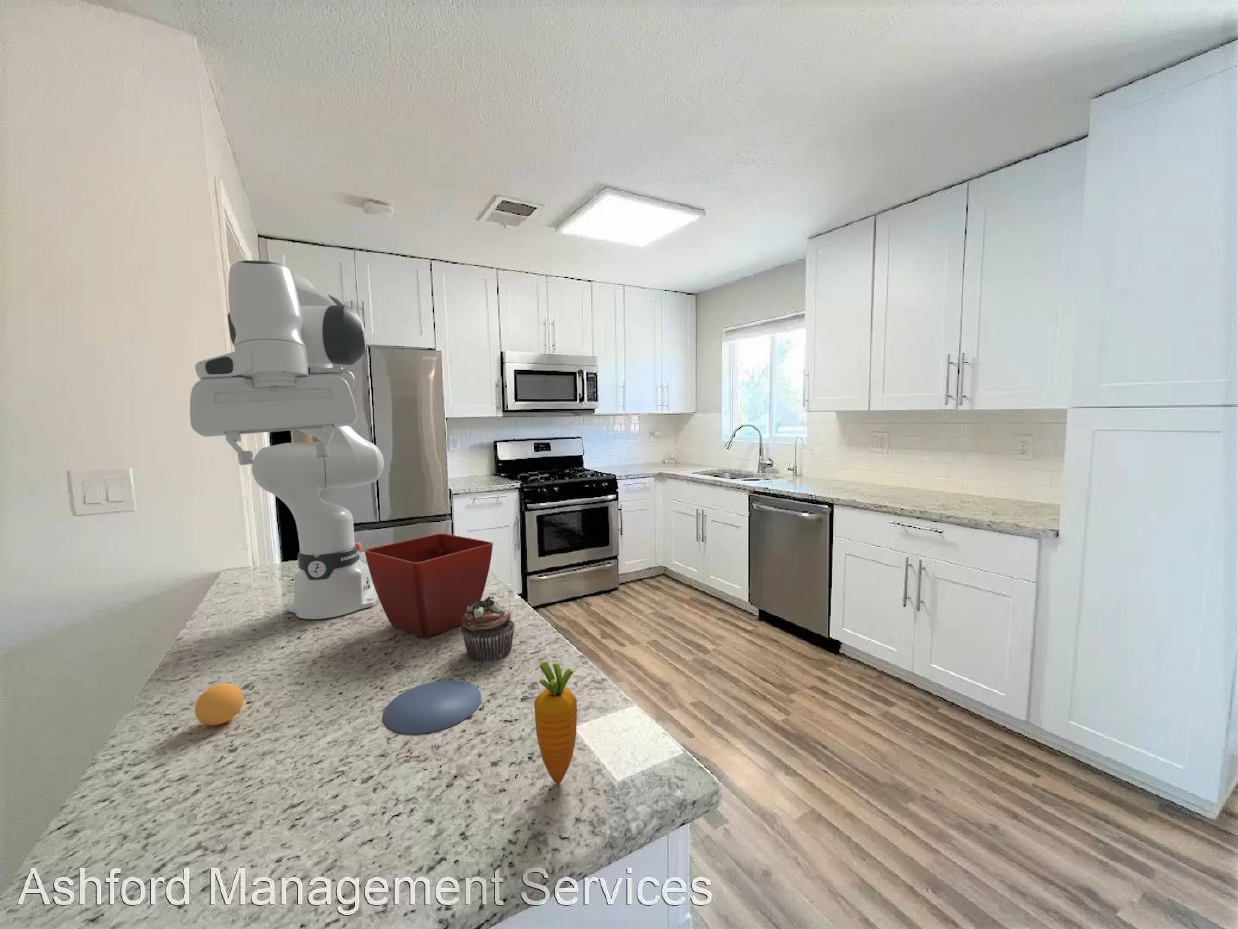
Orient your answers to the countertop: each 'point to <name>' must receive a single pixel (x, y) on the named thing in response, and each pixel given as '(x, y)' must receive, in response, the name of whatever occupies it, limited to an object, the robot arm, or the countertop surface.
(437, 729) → the disc
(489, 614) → the cupcake
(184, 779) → the countertop surface
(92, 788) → the countertop surface
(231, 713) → the ball
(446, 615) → the plant pot
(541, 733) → the carrot
